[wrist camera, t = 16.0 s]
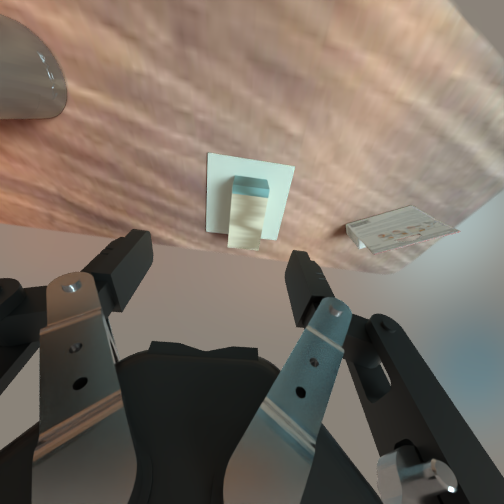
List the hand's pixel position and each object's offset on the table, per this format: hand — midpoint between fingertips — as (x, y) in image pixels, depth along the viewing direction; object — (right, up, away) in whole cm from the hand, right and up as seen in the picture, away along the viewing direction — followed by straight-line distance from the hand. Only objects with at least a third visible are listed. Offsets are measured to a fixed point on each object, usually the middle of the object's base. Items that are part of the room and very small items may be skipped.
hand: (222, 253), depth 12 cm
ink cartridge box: (+24, +6, +24) cm, 35 cm away
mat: (+1, +9, +22) cm, 23 cm away
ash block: (0, +2, +23) cm, 23 cm away
